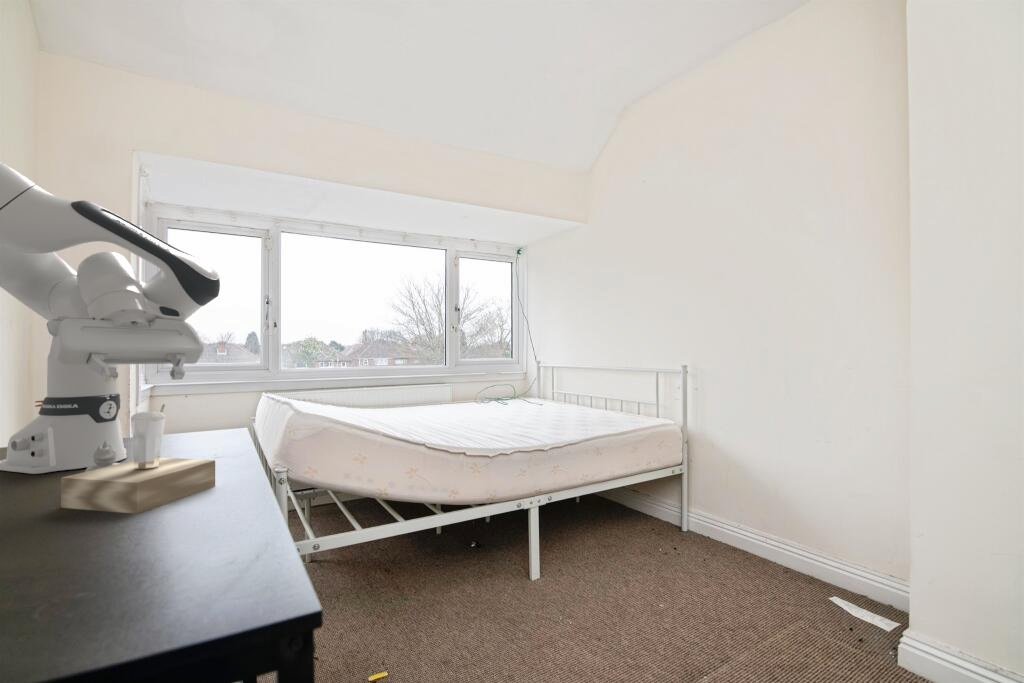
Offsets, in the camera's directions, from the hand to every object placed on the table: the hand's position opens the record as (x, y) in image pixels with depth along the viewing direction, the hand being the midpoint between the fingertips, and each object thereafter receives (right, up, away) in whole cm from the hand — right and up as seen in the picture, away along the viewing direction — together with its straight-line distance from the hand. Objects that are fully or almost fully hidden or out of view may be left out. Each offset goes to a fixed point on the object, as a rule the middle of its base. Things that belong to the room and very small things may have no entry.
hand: (146, 378), depth 79 cm
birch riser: (0, -20, -1) cm, 20 cm away
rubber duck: (-12, -19, +5) cm, 23 cm away
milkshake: (+1, -15, -1) cm, 15 cm away
